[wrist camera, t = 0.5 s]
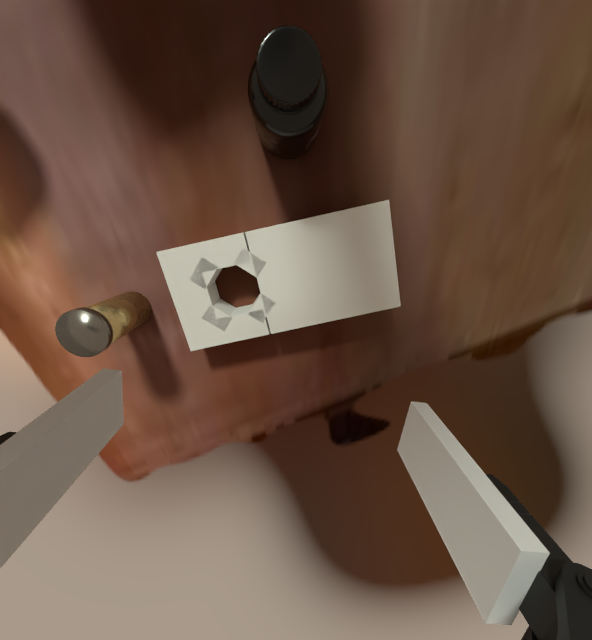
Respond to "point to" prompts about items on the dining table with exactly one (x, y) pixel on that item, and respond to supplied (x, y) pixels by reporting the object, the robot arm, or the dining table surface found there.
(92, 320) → the gold grey cylinder
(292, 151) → the supplement bottle
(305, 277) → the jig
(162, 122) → the dining table surface
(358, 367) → the dining table surface
